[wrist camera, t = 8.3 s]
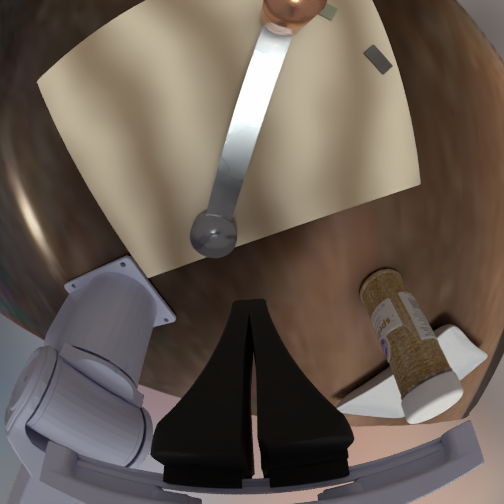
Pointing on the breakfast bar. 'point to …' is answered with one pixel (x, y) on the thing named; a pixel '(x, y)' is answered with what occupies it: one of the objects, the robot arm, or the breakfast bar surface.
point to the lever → (249, 122)
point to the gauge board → (229, 120)
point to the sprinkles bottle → (410, 348)
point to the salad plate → (385, 387)
